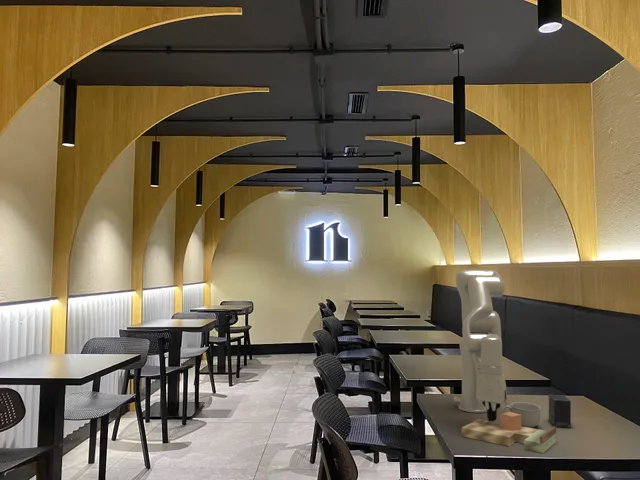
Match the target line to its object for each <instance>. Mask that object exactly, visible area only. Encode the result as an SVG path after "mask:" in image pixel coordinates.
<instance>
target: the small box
mask: <svg viewBox="0 0 640 480" xmlns="http://www.w3.org/2000/svg"><path fill="white" fill-rule="evenodd" d="M571 404H572V402H571V400H570V399H569V398H568V397H567V396H565V394H563V395H561V394H551V393H549V394H548V422H549V423H550V424H551V425H552V427H553V426H554V427H556V428H562V429H563V428H565V429H571V428H572V425H571V424H572V422H571V421H572V419H571V417H572V413H571V411H572V410H571V408H572V405H571Z"/></svg>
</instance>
